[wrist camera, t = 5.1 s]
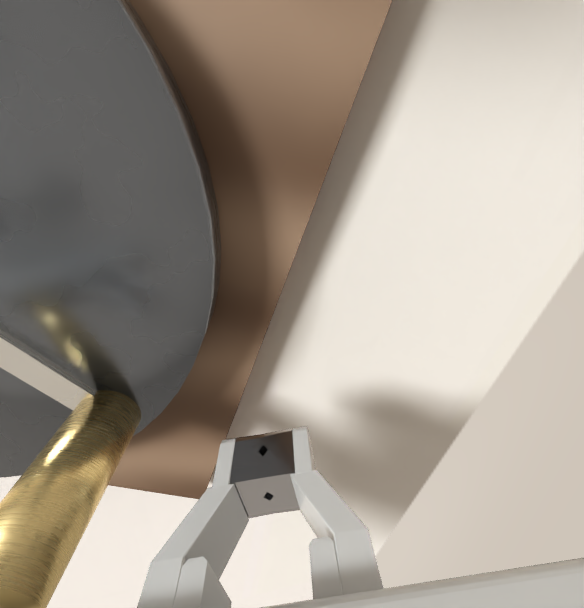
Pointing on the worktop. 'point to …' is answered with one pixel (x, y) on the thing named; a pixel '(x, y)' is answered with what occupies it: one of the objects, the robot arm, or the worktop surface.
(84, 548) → the worktop surface
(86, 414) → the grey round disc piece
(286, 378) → the worktop surface
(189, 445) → the stand plate
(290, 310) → the worktop surface
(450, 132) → the worktop surface
